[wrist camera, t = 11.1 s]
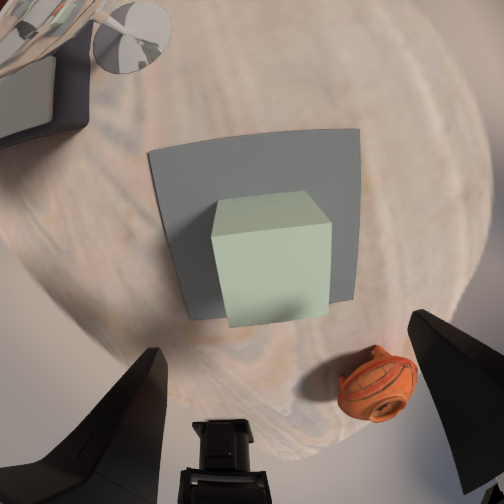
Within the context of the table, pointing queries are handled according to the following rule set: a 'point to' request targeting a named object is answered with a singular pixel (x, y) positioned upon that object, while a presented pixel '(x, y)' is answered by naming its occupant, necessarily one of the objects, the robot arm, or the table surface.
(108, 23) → the wineglass
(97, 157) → the table surface
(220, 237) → the sage block
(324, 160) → the charcoal mat
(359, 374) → the pot
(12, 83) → the calculator
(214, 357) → the table surface
